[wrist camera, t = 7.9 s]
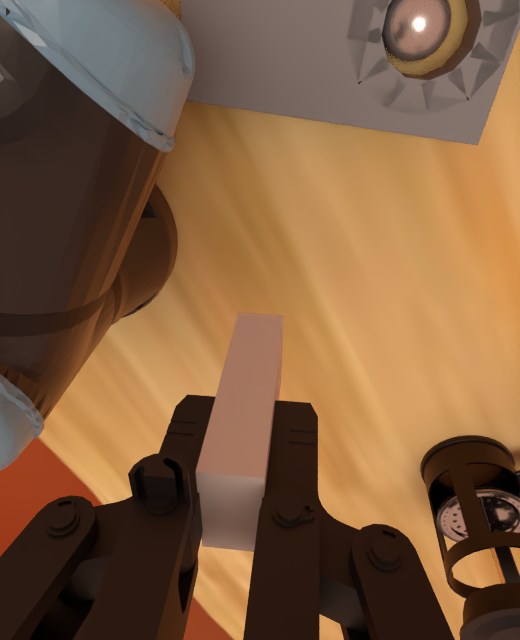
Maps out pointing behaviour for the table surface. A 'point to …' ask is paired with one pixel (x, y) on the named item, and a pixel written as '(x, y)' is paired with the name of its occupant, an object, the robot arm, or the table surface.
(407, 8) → the ball
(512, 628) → the french press
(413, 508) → the table surface
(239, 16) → the plate
